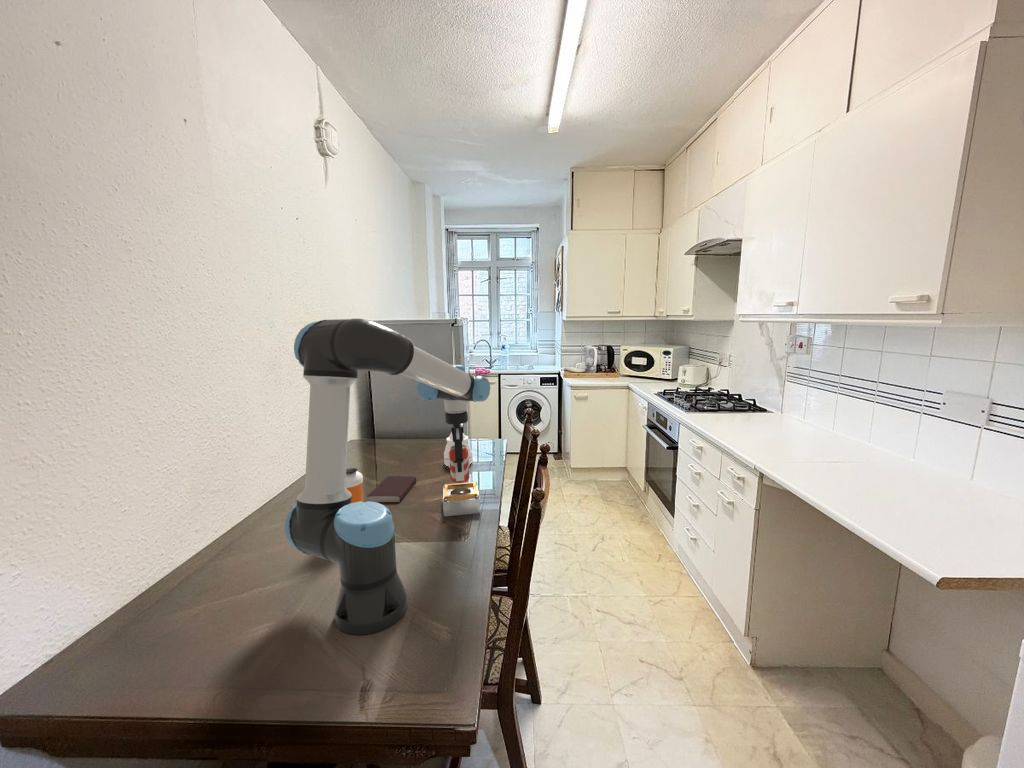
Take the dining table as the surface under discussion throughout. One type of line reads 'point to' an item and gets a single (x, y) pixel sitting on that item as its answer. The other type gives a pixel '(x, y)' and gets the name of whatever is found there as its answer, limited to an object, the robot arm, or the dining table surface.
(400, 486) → the book
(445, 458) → the honey pot
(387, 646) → the dining table surface
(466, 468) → the beverage can
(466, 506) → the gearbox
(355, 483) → the shaker bottle
